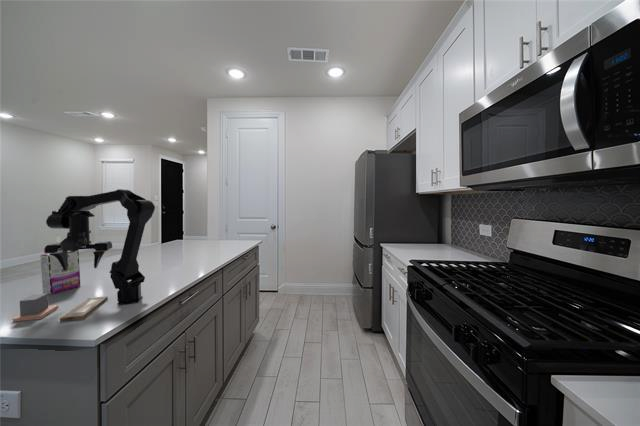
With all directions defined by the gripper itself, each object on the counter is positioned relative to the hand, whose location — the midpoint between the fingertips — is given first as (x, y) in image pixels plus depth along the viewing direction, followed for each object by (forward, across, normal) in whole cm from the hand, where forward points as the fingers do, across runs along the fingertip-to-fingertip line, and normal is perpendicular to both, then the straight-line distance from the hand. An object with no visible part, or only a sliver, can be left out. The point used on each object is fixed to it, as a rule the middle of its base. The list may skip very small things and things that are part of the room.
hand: (80, 269), depth 101 cm
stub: (+12, -7, -12) cm, 18 cm away
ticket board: (+12, +6, -12) cm, 18 cm away
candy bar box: (+12, -14, +16) cm, 25 cm away
